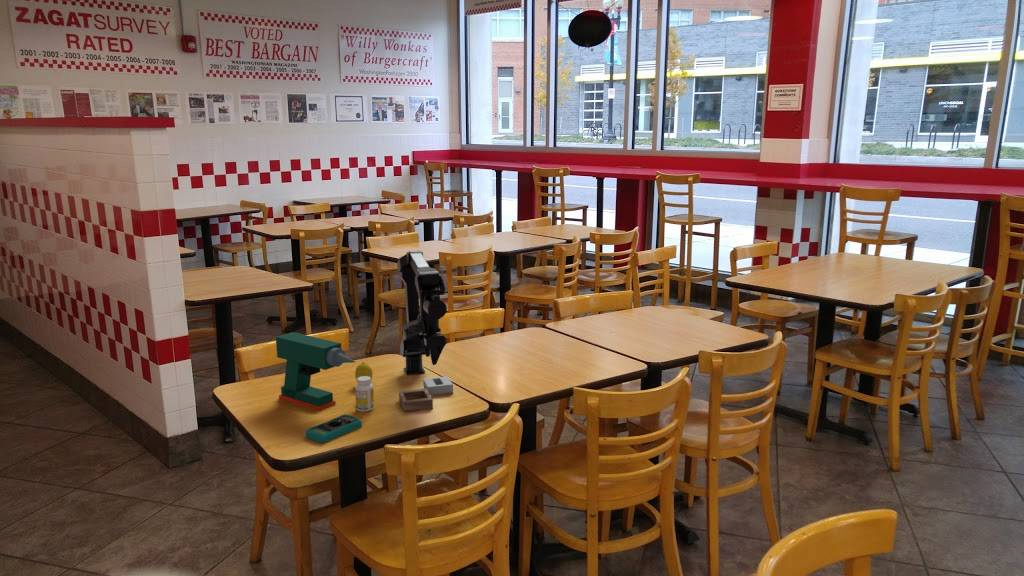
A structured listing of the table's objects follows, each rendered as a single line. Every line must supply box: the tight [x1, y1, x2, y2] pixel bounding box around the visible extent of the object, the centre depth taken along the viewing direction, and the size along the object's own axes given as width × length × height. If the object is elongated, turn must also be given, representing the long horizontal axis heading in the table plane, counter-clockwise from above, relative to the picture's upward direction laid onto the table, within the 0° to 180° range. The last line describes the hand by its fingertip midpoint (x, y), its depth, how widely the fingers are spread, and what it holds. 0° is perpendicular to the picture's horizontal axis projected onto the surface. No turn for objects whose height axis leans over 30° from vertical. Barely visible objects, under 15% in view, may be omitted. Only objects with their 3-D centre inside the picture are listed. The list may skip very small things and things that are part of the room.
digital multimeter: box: [304, 413, 363, 444], centre depth 199 cm, size 7×15×3 cm, turn 144°
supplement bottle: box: [354, 376, 375, 413], centre depth 214 cm, size 5×5×10 cm
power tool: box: [275, 331, 356, 412], centre depth 216 cm, size 32×7×20 cm, turn 56°
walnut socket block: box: [398, 388, 434, 413], centre depth 218 cm, size 10×8×3 cm
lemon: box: [354, 361, 373, 381], centre depth 234 cm, size 6×6×8 cm
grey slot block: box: [422, 376, 454, 396], centre depth 230 cm, size 8×8×3 cm
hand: (430, 360), depth 224 cm, fingers open, 9 cm apart
